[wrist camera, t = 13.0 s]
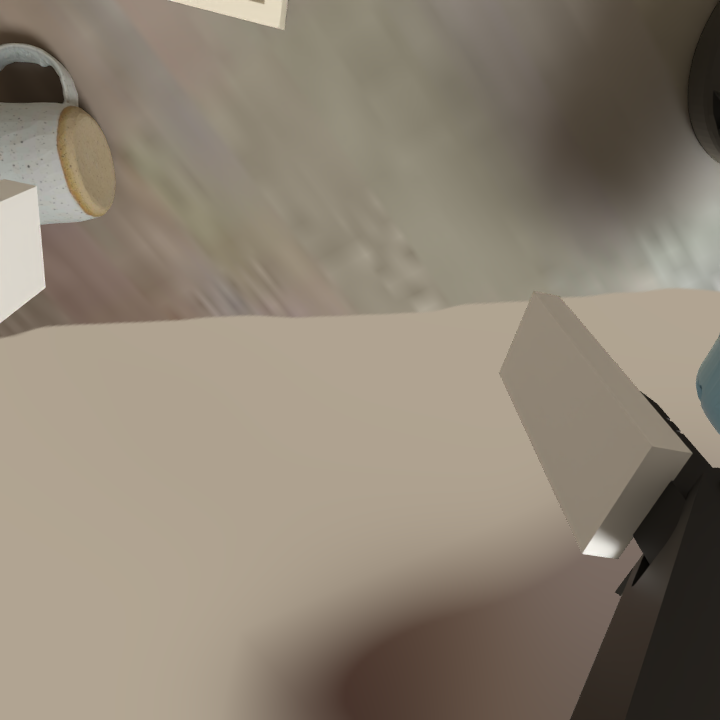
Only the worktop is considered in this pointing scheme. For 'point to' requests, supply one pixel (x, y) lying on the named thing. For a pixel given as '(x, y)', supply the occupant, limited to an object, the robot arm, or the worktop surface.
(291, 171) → the worktop surface
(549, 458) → the robot arm
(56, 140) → the ceramic mug
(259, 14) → the tray
